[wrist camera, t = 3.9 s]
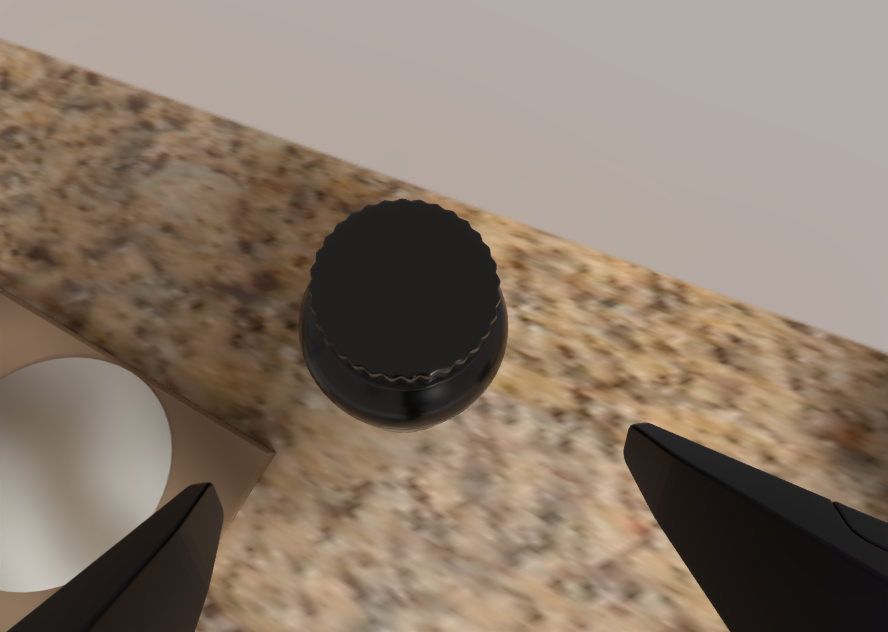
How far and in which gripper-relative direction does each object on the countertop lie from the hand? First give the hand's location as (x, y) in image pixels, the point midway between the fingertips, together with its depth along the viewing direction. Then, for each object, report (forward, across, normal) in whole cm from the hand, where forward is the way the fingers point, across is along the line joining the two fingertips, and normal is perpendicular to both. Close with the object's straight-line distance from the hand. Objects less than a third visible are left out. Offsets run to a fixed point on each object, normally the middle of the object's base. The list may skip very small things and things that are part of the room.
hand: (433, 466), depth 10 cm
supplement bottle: (+12, 0, -6) cm, 13 cm away
